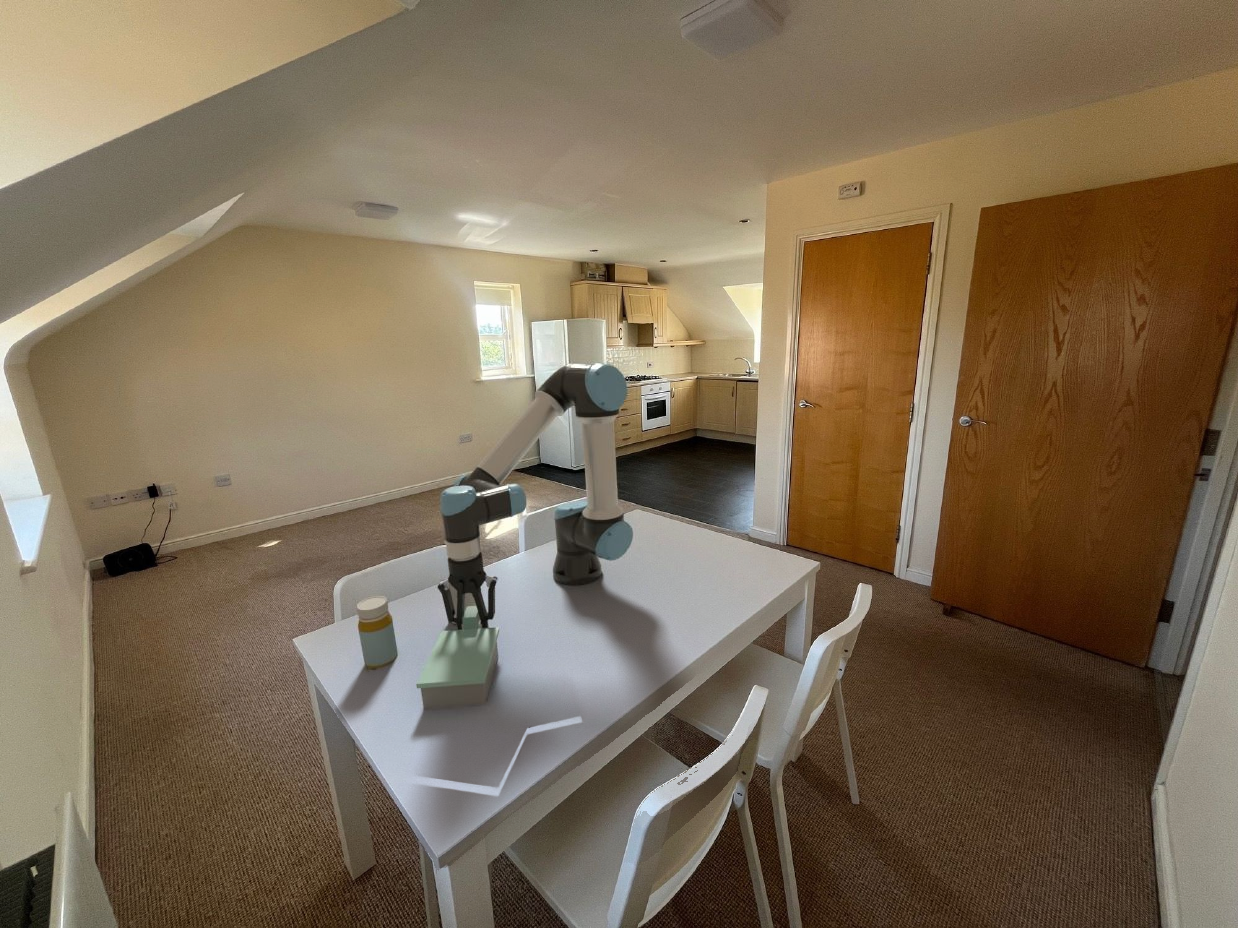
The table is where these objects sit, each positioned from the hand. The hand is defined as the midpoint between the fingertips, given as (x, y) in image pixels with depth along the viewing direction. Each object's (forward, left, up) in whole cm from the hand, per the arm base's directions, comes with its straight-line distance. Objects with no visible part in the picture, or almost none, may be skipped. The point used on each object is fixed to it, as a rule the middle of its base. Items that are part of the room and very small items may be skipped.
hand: (475, 645), depth 117 cm
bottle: (+21, +2, -1) cm, 21 cm away
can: (+6, -14, -1) cm, 15 cm away
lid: (0, +9, +2) cm, 9 cm away
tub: (0, +12, -1) cm, 12 cm away
